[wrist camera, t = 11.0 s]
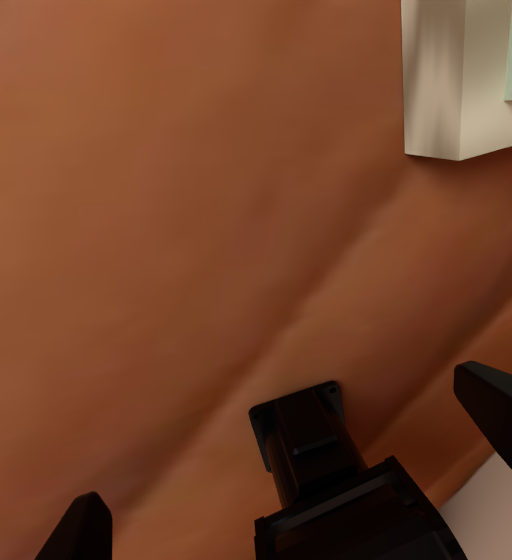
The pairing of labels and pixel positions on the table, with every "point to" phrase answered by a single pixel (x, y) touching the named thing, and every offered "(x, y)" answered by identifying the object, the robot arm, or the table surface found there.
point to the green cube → (509, 69)
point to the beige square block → (455, 77)
